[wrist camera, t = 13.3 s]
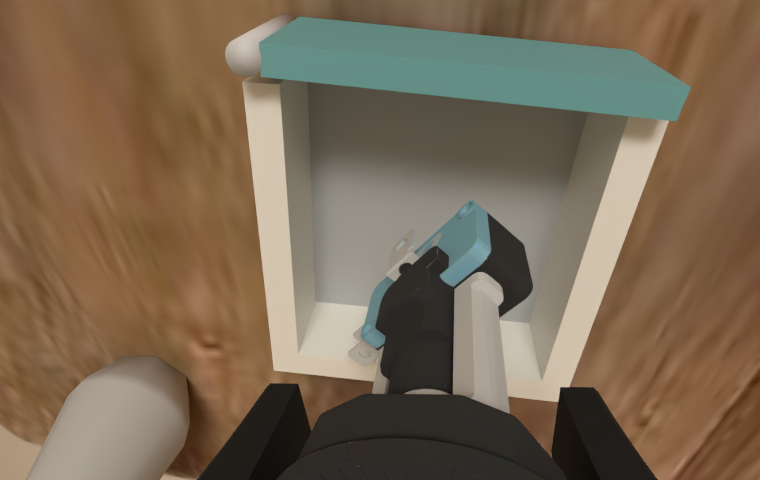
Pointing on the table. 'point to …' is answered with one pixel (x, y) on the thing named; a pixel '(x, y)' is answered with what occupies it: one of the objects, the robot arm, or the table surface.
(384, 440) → the push button
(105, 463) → the salt shaker
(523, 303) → the bay
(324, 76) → the gate
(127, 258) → the table surface
